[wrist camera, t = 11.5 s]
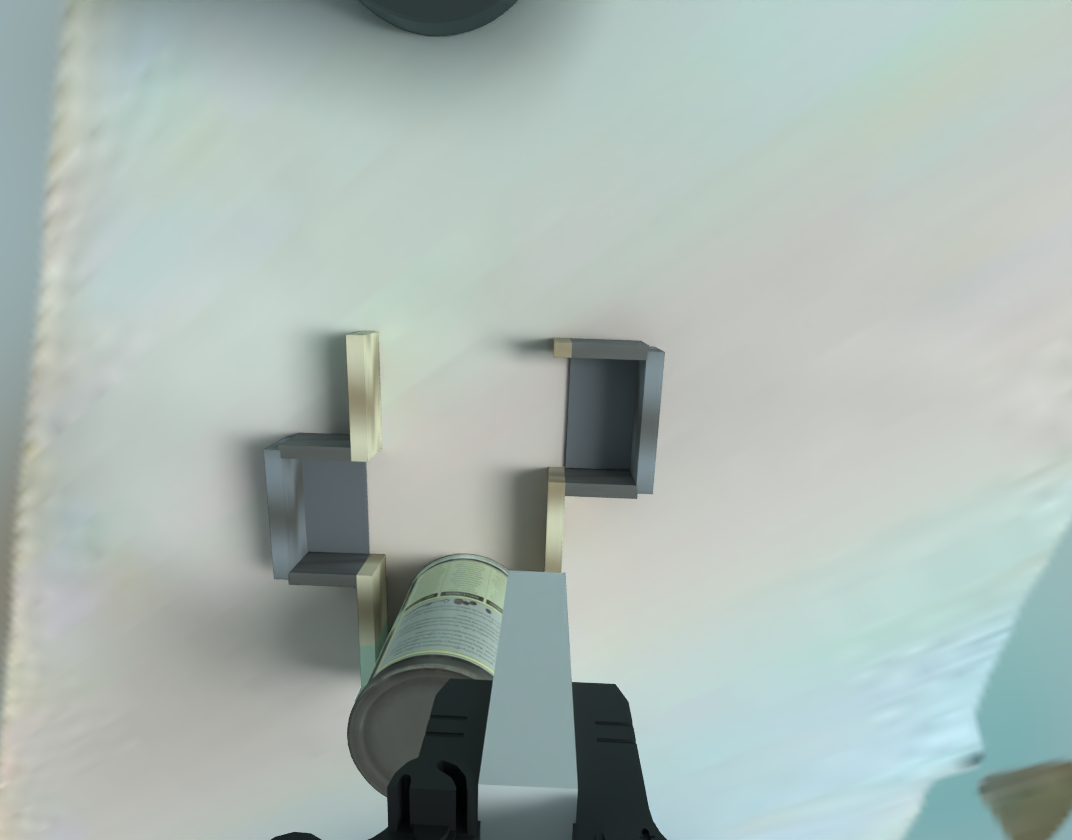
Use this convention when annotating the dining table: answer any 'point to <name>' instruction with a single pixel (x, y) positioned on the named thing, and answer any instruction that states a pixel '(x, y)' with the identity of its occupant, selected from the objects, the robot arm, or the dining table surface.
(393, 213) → the dining table surface
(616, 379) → the mats
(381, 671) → the coffee can
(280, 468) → the channel
